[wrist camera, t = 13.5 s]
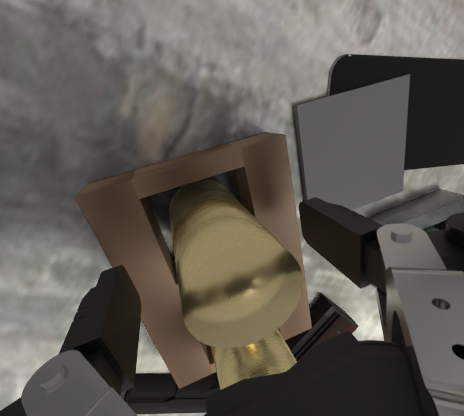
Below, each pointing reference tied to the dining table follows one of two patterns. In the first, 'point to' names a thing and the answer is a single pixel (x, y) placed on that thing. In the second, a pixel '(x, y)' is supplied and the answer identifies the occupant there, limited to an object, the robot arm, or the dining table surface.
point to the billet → (229, 268)
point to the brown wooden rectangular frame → (156, 250)
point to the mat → (354, 143)
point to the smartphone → (416, 102)
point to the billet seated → (252, 360)
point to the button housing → (424, 211)
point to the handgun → (193, 395)
